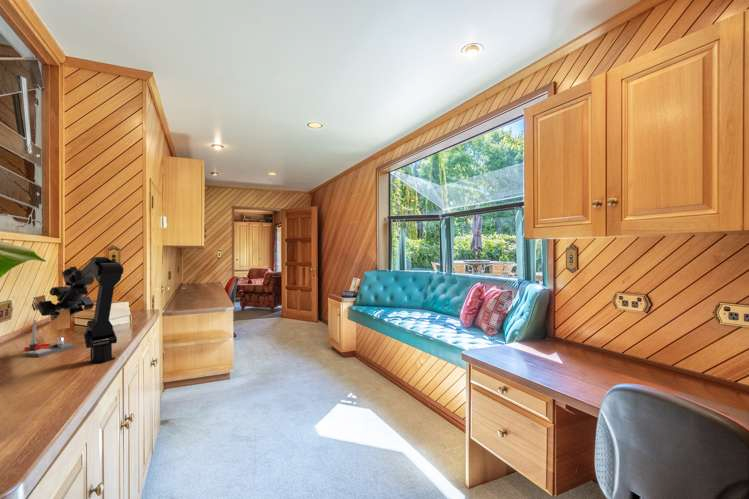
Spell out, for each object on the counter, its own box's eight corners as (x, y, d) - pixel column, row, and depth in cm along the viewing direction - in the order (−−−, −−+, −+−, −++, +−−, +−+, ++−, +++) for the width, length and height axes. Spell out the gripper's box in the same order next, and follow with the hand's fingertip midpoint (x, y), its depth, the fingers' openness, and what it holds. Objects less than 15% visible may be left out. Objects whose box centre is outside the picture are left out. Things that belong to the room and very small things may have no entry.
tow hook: (41, 345, 160) (21, 350, 151) (42, 317, 161) (23, 320, 151) (60, 345, 160) (41, 350, 151) (61, 317, 161) (42, 320, 152)
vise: (74, 347, 155) (74, 336, 155) (38, 357, 141) (38, 344, 141) (61, 346, 157) (61, 335, 157) (24, 356, 143) (24, 343, 143)
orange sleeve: (69, 327, 154) (69, 306, 154) (57, 329, 150) (57, 307, 150) (63, 326, 156) (63, 305, 156) (50, 329, 152) (50, 307, 152)
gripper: (89, 278, 160) (74, 301, 164) (39, 282, 143) (23, 307, 147) (101, 296, 158) (85, 319, 161) (50, 302, 140) (34, 328, 144)
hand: (58, 318), depth 153 cm, fingers closed on orange sleeve, 5 cm apart
